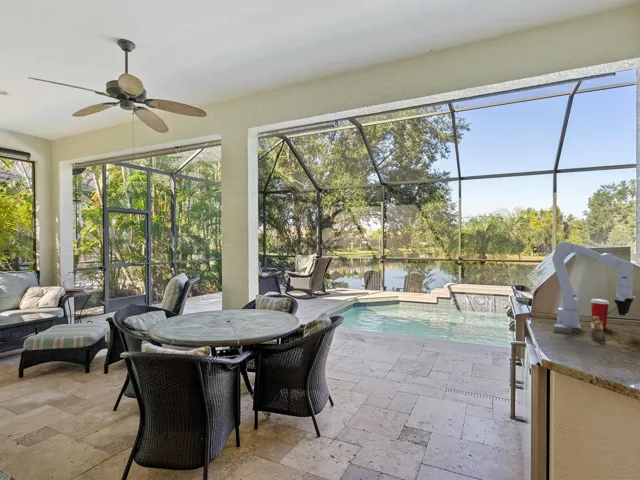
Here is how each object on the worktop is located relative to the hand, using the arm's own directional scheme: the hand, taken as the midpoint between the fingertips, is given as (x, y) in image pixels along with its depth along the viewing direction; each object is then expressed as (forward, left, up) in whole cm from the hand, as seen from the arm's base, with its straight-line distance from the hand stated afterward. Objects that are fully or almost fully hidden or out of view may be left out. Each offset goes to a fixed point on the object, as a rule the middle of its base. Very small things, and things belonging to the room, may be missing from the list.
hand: (623, 314), depth 168 cm
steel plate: (-24, -12, -10) cm, 28 cm away
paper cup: (-9, +11, -10) cm, 17 cm away
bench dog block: (-11, -12, -10) cm, 19 cm away
